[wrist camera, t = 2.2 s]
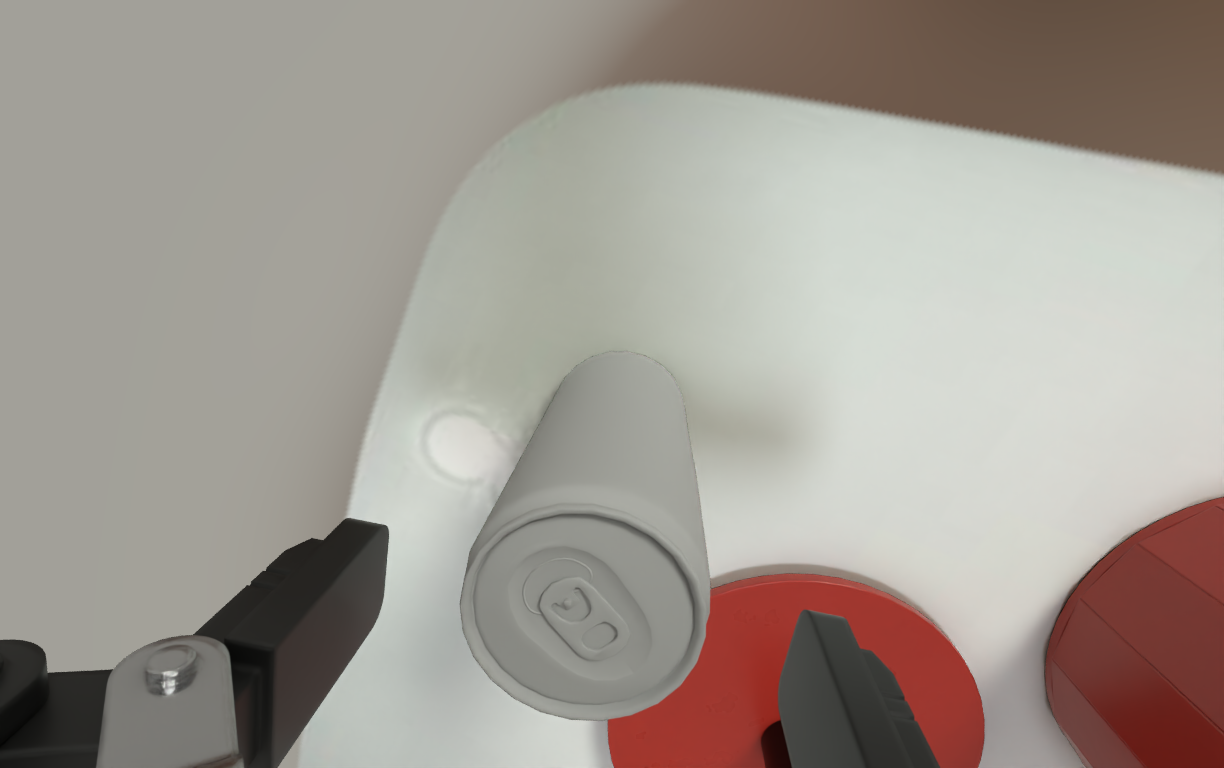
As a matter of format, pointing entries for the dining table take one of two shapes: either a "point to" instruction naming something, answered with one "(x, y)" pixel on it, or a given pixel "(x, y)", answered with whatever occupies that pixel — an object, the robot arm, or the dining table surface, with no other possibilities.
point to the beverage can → (595, 551)
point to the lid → (752, 664)
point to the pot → (1146, 649)
